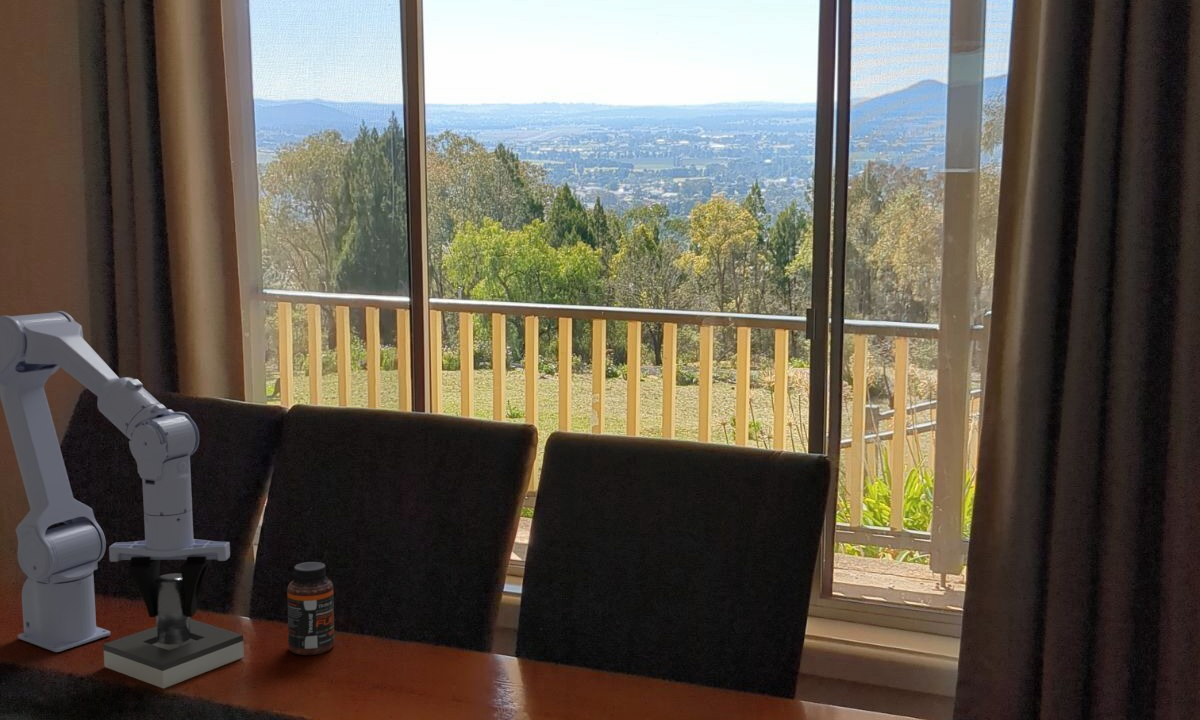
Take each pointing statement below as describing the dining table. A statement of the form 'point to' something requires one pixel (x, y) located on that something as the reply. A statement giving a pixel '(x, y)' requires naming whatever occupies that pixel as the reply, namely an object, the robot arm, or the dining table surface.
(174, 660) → the socket
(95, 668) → the dining table surface
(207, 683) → the dining table surface
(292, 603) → the supplement bottle
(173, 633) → the steel peg
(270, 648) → the dining table surface
